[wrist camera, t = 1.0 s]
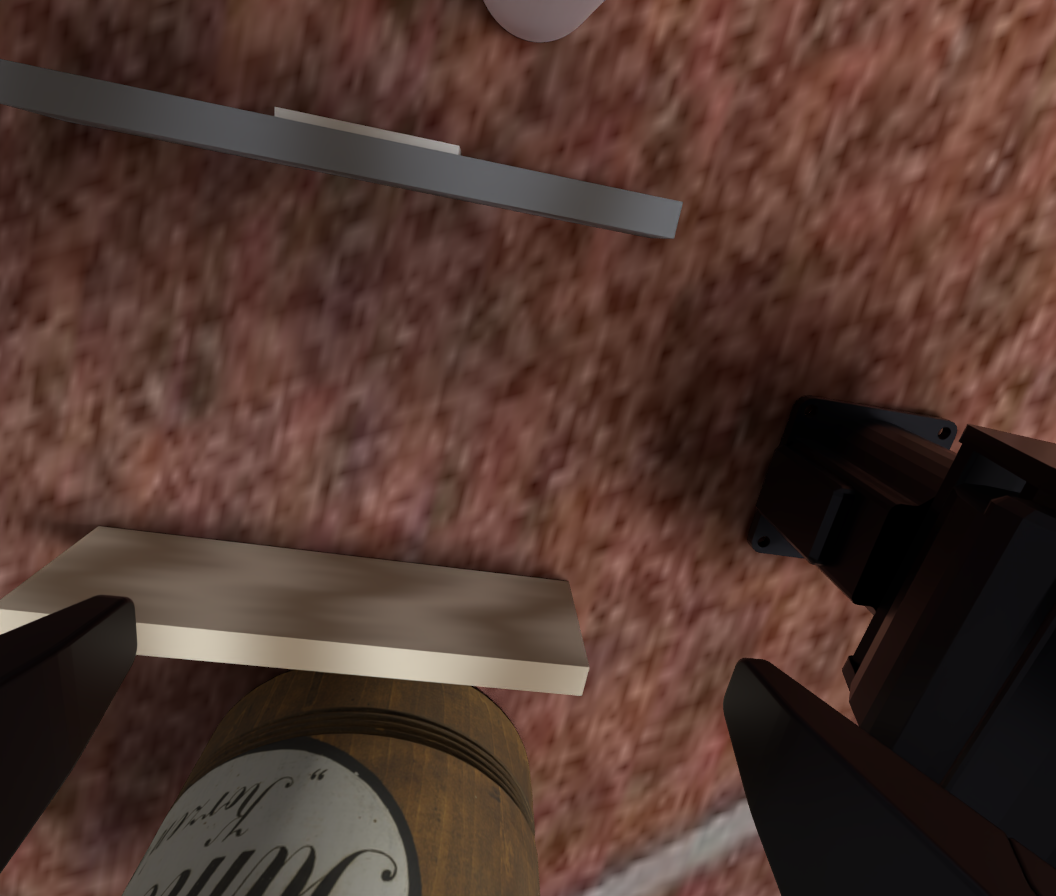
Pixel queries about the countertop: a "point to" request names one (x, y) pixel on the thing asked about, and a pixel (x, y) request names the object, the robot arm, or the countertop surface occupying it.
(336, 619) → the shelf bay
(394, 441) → the countertop surface
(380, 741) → the wooden container
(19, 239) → the countertop surface
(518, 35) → the smoothie
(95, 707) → the robot arm
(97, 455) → the countertop surface
